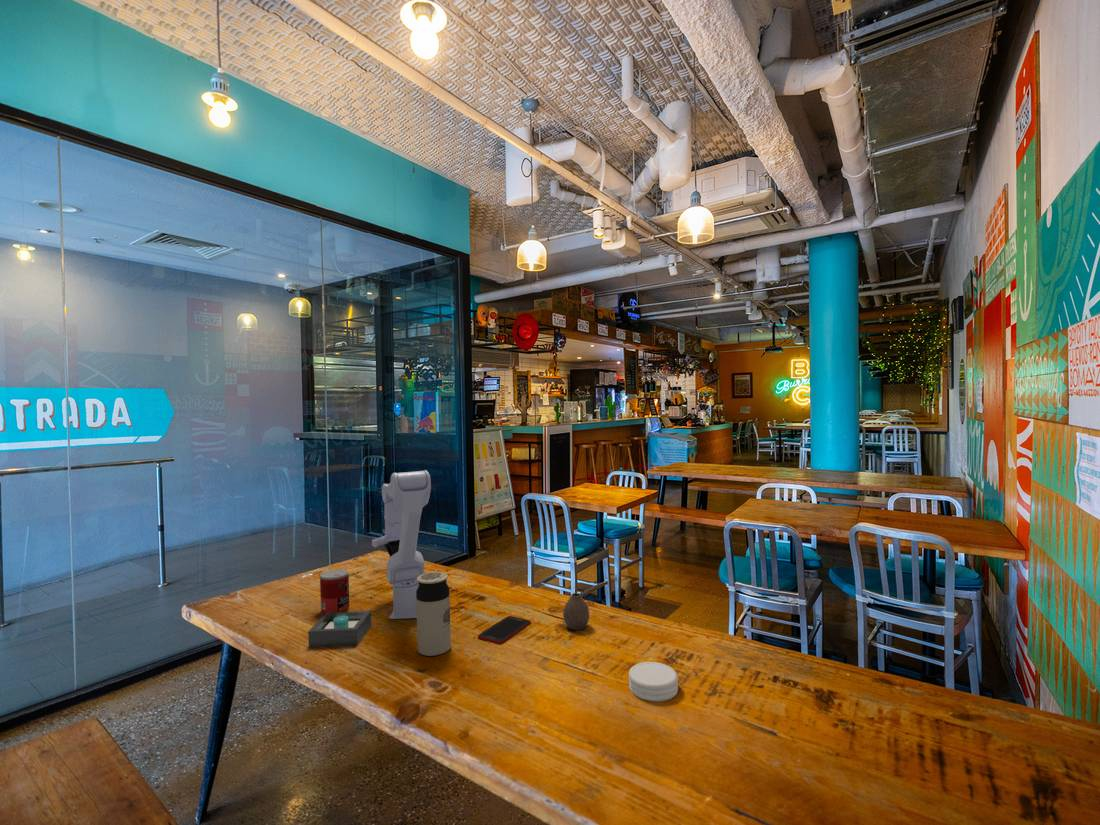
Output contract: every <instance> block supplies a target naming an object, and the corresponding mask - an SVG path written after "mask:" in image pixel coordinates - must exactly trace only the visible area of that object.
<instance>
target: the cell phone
mask: <svg viewBox="0 0 1100 825" xmlns="http://www.w3.org/2000/svg"><path fill="white" fill-rule="evenodd" d="M531 624H532V621H531V620H530V619H525V618H522V617H517V616H512V615H508V616H506V617H504V618H502V619H501V620H500V621H498V622H497V623H495V624H493V625H492V626H490V627H489V628H486V629H485V630H484V631H482V632H481V633H480V634H478V635H477V639H478V640H481V641H483V642H489V643H493V644H496V645H503V644H505V643H506V642H507V641H509V640H510V639H511V638H512V637H513V638H514V637H515V636H516V635H517V634H518V633H520V631H523V630H524V629H526V628H527V627H528V626H530V625H531Z"/></svg>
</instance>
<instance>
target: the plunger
mask: <svg viewBox="0 0 1100 825" xmlns="http://www.w3.org/2000/svg"><path fill="white" fill-rule="evenodd" d="M358 621H359V620H356V621H348V616H338V617H336V618H334V621H332V622H330V623H329V624H328V625H327V626H326V627H325V628H324V629H335V628H354V626H355V625H356V624H357V623H358Z"/></svg>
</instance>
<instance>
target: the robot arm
mask: <svg viewBox="0 0 1100 825" xmlns="http://www.w3.org/2000/svg"><path fill="white" fill-rule="evenodd" d="M431 482H432V480H431V474H430V473H429V472H428V470H426V469H424V470H419V471H418V470H417V471H407V472H406V471H405V472H403V471H402V472H392V474H391V475H390V482H389V483H383V484H382V487H381V496H382V497H381V498H382V502H383V504H384V534H385V535H382V536H380V537H377V538H374V539H371V547H373V548H377V547H379V546H384V547H385V549H386V550H387V554H388V556H389V558H388V561H387V564H386V572H385V573H386V578H387V579H386V580H387V582H388V584H389V585H392V600H393V601H392V604H393V605H392V606H393V607H392V608H393V611H392V613H391V614H390V616H389V617H388V618H389V620H400V619H401V620H402V619H403V620H404V619H417V605H416V590H417V588H418V586H419V584H418V581H417V577H418V576H420V575H422V574H425V560H424V557H423V555H422V553H421V552H420V551H418V550H417V545H418V540H419V538H418V537H419V530H420V524H421V523H420V522H421V516H422V512H423V508H424V507H425V506H426V505H428V504H429V499H430V496H431V492H432V491H431V490H432V484H431Z"/></svg>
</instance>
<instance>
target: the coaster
mask: <svg viewBox="0 0 1100 825" xmlns="http://www.w3.org/2000/svg"><path fill="white" fill-rule="evenodd" d="M678 676H679V675H678V673H677V672H676V670H674V668H672V667H671V666H669V665H668V664H665V663H661V662H658V661H657V662H656V661H643V662H639V663H637V664H634V665H633V666H632V667H630V669H629V670H628V682H629V683H628V686H629V689H630V692H631V693H632V694H633V695H635V696H636V697H638V698H640V699H642V700H644V701H649V702H664V701H668V700H671V699H673V698H674V697H675V696H676V695H677V694H678V691H679V687H678V685H679V681H678V678H679V677H678Z"/></svg>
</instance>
